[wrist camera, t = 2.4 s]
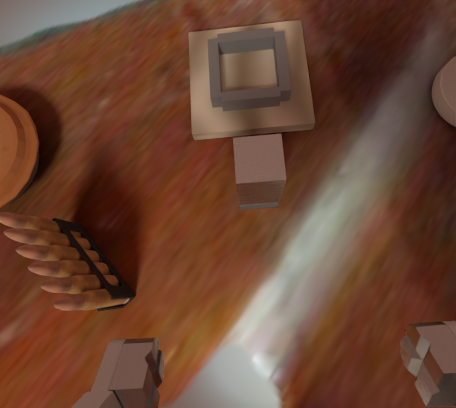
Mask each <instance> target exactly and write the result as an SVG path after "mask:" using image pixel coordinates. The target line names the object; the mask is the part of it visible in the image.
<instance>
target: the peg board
mask: <svg viewBox="0 0 456 408" xmlns="http://www.w3.org/2000/svg"><path fill="white" fill-rule="evenodd" d="M189 59H190V89H191V120H192V136H193V138H194V140H201V139H212V138H223V137H234V136H245V135H256V134H267V133H278V132H289V131H300V130H311V129H313V128H314V125H315V117H314V109H313V102H312V95H311V88H310V80H309V73H308V66H307V59H306V52H305V44H304V37H303V30H302V23H301V20H294V21H285V22H276V23H268V24H259V25H250V26H242V27H233V28H224V29H215V30H207V31H198V32H189Z"/></svg>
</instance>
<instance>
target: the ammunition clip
mask: <svg viewBox="0 0 456 408" xmlns="http://www.w3.org/2000/svg"><path fill="white" fill-rule="evenodd" d="M0 223H2V224H4V225H7V226H10V227H14V229H8V230H5V231H4V234H5V235H6V236H7V237H9V238H11V239H13V240H15V241H18V242H21V243H27V244H30V245H25V246H20V247H18V248H16V251H17V253H19V254H20V255H22V256H25V257H27V258H31V259H37V260H43V261H41V262H36V263H33V264H31V265H29V266H28V269H29V270H30V271H32V272H34V273H36V274H39V275H45V276H54V277H59V278H54V279H50V280H47V281H45V282H44V283H42V284H41V288H42V289H44V290H46V291H49V292H55V293H71V294H73V295H69V296H65V297H63V298H61V299H59V300H57V301H56V302H55V303H54V307H55V308H57V309H60V310H68V311H71V310H92V309H97V310H98V311H103V310H110V309H118V308H123V307H124V306H126V305H127V304H128V303H129V302H130V301H131V300H132V299H133V298H134V297H135V294H134V293H133V291H132V290H131V289H130V288H129V286H128V285H127V284H126V282H125V281H124V280H123V278H122V277H121V276H120V275H119V273H118V272H117V271H116V269H115V268H114V267H113V266H112V264H111V263H110V262H109V260H108V259H107V258H106V256H105V255H104V254H103V253H102V251H101V250H100V249H99V247H98V246H97V245H96V243H95V242H94V241H93V240H92V238H91V237H90V236H89V234H88V233H87V232H86V230H85V229H84V228H83V227H82V225H80V224H76V223H72V222H68V221H64V220H60V219H57V218H54V219H52V220H48V219H45V218H41V217H37V216H27V215H21V214H17V213H9V212H0Z"/></svg>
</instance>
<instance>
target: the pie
mask: <svg viewBox="0 0 456 408" xmlns="http://www.w3.org/2000/svg"><path fill="white" fill-rule="evenodd" d="M38 149H39V139H38V134H37V129H36V126H35V124H34V122H33V120H32V118H31V116H30V115H29V113H28V111H26V110H25V109H24V108H23V107H21V106H20V105H19V104H18V103H16V102H15V101H13V100H11V99H9V98H7V97H5V96H3V95H0V208H2V207H4V206H5V205H7V204H9V203H12V202H14V201H15V200H16V199H17V198H18V197H20V196H21V195H22V194H23V193H24V192H25V191H26V190H27V189H28V187H29V186H30V185H31V183H32V182H33V180H34V177H35V175H36V173H37V170H38V165H39V158H40V156H39V150H38Z"/></svg>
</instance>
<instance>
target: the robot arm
mask: <svg viewBox="0 0 456 408" xmlns="http://www.w3.org/2000/svg"><path fill="white" fill-rule="evenodd" d="M405 332H406V333H407V336H406V337H404V338H403V339H402V341H401V344H400V351H401V356H402V359H403V362H404V364H405V366H406V368H407V370H408V371H410V372H411V373H412V374H413V375H415V376H416V379H415V386H416V388H417V390H418V392H419V394H420V396H421V397H422V399H423V401H424V403H425V405H426V407H445V406H456V321H445V322H440V321H438V322H424V323H411V324H408V325H407V326H406V329H405ZM158 349H159V341H158V339H157V338H142V339H118V340H111V341H110V342H109V344H108V345H107V348H106V350H105V353H104V356H103V359H102V361H101V364H100V367H99V370H98V372H97V375H96V378H95V381H94V383H93V386H92V389H91V392H86V393H85V394H84V395H83V396H82V397H81V398H80V399H79V400H78V401H77V402H76V403H75V404H74V405H73V406H72V407H71V408H158V404H159V398H160V395H159V392H158V390H157V388H158V387H159V385H160V384H161V383H162V381H163V375H164V357H163V353H162V352H161V351H160V350H158Z"/></svg>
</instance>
